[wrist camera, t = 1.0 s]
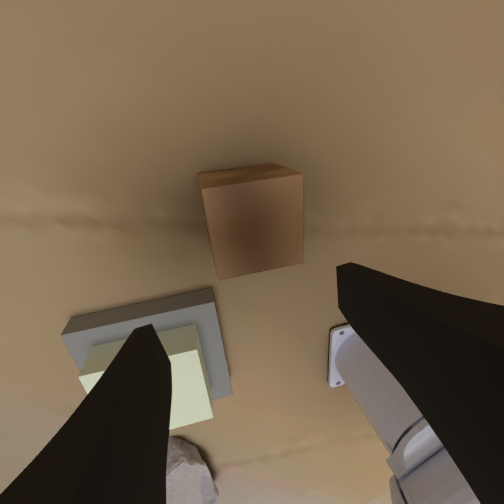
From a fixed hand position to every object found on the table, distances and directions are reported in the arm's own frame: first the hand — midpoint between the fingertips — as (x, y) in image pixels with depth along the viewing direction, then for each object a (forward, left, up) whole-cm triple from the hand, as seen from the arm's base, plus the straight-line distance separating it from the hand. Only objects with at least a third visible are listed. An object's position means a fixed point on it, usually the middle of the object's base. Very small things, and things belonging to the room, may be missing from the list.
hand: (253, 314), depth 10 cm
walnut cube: (-2, -1, -10) cm, 10 cm away
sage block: (+7, +10, -8) cm, 14 cm away
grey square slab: (+6, +10, -10) cm, 15 cm away
